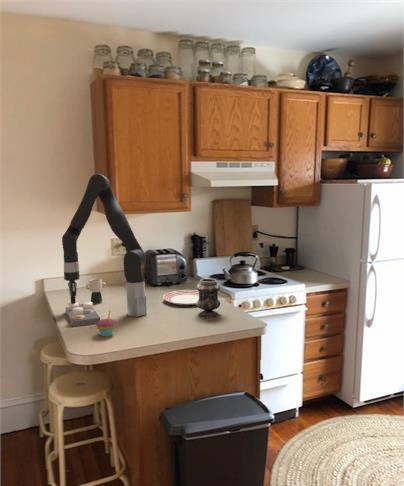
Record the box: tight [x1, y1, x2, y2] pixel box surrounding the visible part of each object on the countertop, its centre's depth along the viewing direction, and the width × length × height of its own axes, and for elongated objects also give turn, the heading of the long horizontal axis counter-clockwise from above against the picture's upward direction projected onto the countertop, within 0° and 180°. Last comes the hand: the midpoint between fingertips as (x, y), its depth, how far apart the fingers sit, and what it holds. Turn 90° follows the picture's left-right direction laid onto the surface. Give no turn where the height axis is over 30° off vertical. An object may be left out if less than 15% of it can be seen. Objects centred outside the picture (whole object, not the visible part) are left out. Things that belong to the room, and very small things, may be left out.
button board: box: [65, 304, 101, 328], centre depth 213 cm, size 26×13×3 cm, turn 25°
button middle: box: [82, 301, 94, 309], centre depth 213 cm, size 5×5×2 cm
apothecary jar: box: [195, 277, 221, 318], centre depth 214 cm, size 12×12×18 cm
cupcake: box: [95, 309, 117, 337], centre depth 186 cm, size 9×8×12 cm
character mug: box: [85, 278, 107, 304], centre depth 239 cm, size 11×7×13 cm, turn 111°
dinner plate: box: [162, 289, 199, 306], centre depth 241 cm, size 27×27×3 cm
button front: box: [73, 307, 83, 315], centre depth 204 cm, size 5×5×2 cm
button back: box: [68, 302, 79, 309], centre depth 218 cm, size 5×5×2 cm
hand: (73, 303), depth 218 cm, fingers closed
